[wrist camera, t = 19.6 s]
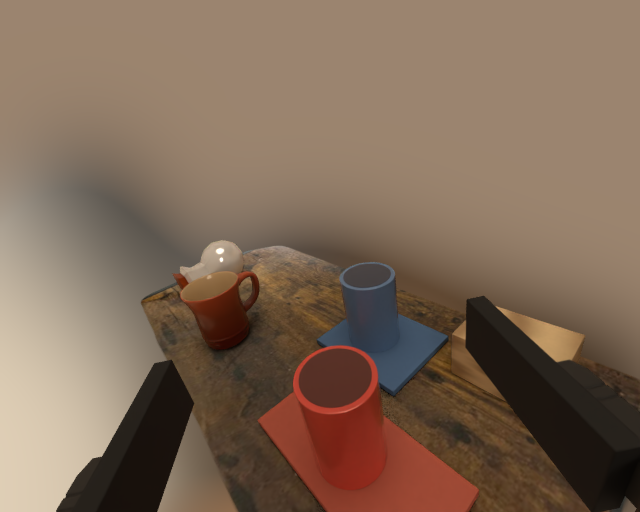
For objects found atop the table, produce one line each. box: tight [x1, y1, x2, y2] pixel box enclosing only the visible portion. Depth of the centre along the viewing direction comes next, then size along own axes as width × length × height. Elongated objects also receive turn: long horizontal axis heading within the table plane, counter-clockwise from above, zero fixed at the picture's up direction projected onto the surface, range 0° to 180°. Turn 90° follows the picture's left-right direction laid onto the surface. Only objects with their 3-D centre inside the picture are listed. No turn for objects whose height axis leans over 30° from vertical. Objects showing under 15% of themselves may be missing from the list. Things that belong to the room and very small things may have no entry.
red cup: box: [293, 345, 388, 490], centre depth 27 cm, size 7×7×10 cm
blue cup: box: [339, 262, 400, 353], centre depth 41 cm, size 7×7×10 cm
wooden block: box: [451, 307, 585, 402], centre depth 33 cm, size 10×8×6 cm
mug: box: [180, 271, 259, 350], centre depth 49 cm, size 12×9×10 cm
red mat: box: [258, 392, 479, 512], centre depth 30 cm, size 20×10×1 cm, turn 40°
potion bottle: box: [173, 240, 244, 290], centre depth 67 cm, size 9×10×15 cm
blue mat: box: [317, 314, 448, 396], centre depth 43 cm, size 14×12×1 cm
